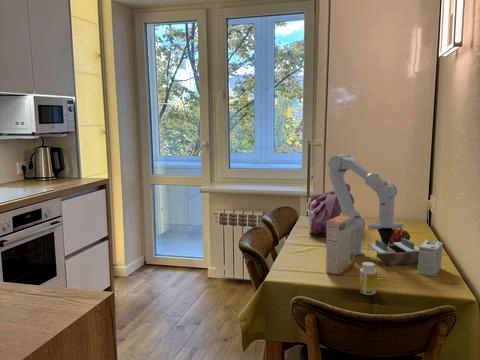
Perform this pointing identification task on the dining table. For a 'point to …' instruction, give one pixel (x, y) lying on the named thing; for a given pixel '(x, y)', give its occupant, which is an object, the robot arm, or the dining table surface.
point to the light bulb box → (430, 257)
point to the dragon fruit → (399, 235)
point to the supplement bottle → (368, 278)
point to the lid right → (406, 245)
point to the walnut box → (399, 257)
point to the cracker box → (340, 244)
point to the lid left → (381, 247)
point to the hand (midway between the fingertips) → (384, 245)
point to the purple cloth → (324, 210)
